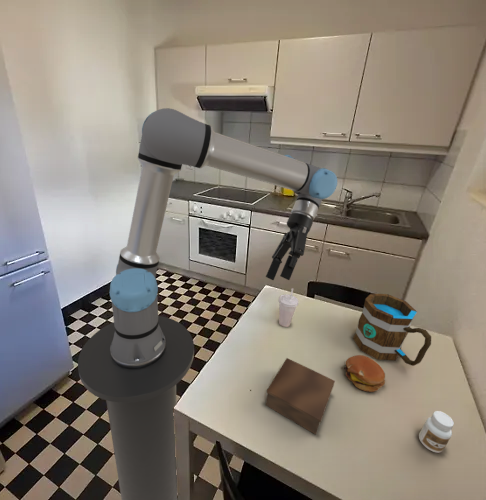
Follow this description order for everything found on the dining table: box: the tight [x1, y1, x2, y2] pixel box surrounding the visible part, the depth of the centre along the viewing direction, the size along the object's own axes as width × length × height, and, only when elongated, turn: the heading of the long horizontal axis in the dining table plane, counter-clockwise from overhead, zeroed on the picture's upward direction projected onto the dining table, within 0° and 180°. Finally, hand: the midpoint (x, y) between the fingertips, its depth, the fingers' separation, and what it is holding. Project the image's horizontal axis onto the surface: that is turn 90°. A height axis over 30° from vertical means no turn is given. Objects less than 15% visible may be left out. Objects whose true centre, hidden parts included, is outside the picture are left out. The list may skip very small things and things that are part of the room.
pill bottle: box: [418, 410, 455, 454], centre depth 58 cm, size 4×4×8 cm
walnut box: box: [265, 357, 336, 436], centre depth 67 cm, size 12×12×5 cm
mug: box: [352, 292, 432, 367], centre depth 82 cm, size 20×14×15 cm
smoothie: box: [278, 287, 299, 328], centre depth 92 cm, size 6×6×14 cm
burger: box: [343, 354, 386, 393], centre depth 74 cm, size 10×9×5 cm
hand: (276, 278), depth 85 cm, fingers open, 13 cm apart
